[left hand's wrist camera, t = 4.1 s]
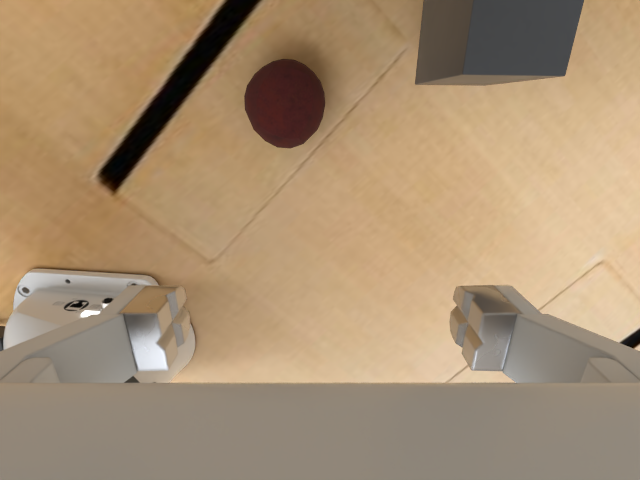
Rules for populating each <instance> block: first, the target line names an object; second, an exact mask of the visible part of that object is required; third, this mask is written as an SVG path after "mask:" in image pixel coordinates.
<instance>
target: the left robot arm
mask: <svg viewBox="0 0 640 480" xmlns="http://www.w3.org/2000/svg"><path fill="white" fill-rule="evenodd" d="M134 283H135V284H137V285H134ZM27 288H28V289H29V290H28V289H27ZM186 300H187V297H186V292H185V289H184V288H183V287H182V286H161V285H158V283H157V282H156V280H155V279H154V278H152V277H150V276H148V275H136V274H120V273H104V272H87V271H71V270H55V269H32V270H30V271H29V272H28V273H26V274H25V275H24V277H23V278H22V279H21V280H20V282H19V284H18V286H17V289H16V292H15V296H14V304H13V312H12V314H11V315H10V317H9V319H8V321H7V323H6V326H0V480H640V351H638V350H635V349H633V348H630V347H628V346H625V345H623V344H620V343H618V342H615V341H613V340H610V339H608V338H606V337H603V336H601V335H598V334H596V333H593V332H591V331H588V330H586V329H583V328H581V327H578V326H576V325H573V324H571V323H568V322H566V321H564V320H561V319H559V318H556V317H554V316H551V315H549V314H542V313H540V312H539V311H538V310H537V309H536V308H535V307H534V306H533V305H532V304H531V303H530V302H528V301H527V300H526V299H525V298H524V297H523V296H522V295H521V294H520V293H519V292H518V291H517V290H515V289H514V288H513V287H512V286H510V285H482V286H458V287H456V289H455V291H454V296H453V300H454V302H455V303H456V305H457V306H456V307H455V308H454V309H453V310H452V311H451V315H450V331H451V334H452V337H453V339H454V341H455V343H456V344H458V345H459V346H461V347H463V349H462V355H463V357H464V358H465V360H466V362H467V364H468V365H469V367H470V369H471V370H478V371H503V373H504V374H505V375H507V376H508V377H509V378H511V379H512V380H513V381H515V382H516V383H170V382H171V381H172V379H173V378H174V377H175V376H176V375H177V374H178V373H179V372H180V371H181V370H182V369H183V368H184V367H185V366H186V365H187V364H188V363H189V362H190V360H191V358H192V356H193V354H194V351H195V334H194V331H193V328H192V326H191V324H190V314H189V311H188V310H187V309H186V308H185V307H184V306H183V305H184V303H185V302H186Z"/></svg>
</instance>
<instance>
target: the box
mask: <svg viewBox="0 0 640 480" xmlns="http://www.w3.org/2000/svg"><path fill="white" fill-rule="evenodd" d="M583 2H584V0H424V2H423V11H422V21H421V31H420V40H419V50H418V60H417V70H416V79H415V84H416V85H493V84H502V83H510V82H519V81H527V80H536V79H544V78H553V77H561V76H565V74H566V70H567V66H568V62H569V58H570V54H571V50H572V46H573V42H574V38H575V34H576V30H577V26H578V22H579V18H580V14H581V10H582V6H583Z"/></svg>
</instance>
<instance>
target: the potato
mask: <svg viewBox="0 0 640 480" xmlns="http://www.w3.org/2000/svg"><path fill="white" fill-rule="evenodd" d="M324 107H325V97H324V91H323V88H322V85H321V82H320V80H319V79H318V78H317V76H316V75H315V73H314V72H313V71H312V70H310V69H309V68H308V67H307V66H306V65H304V64H302V63H300V62H298V61H295V60H289V59H281V60H277V61H273V62H271V63H269V64H267V65H266V66H264V67H262V68H261V69H260V70H259V71H258V72H257V73H256V74H255V75H254V76H253V78H252V79H251V81H250V82H249V84H248V85H247V88H246V92H245V110H246V113H247V115H248V117H249V120H250V122H251V124H252V126H253V129H254V130H255V131H256V132H257V133H258V134H259V135H260V136H261V137H262V138H263V139H264V140H265V141H267V142H269V143H270V144H272V145H274V146H276V147H281V148H293V147H296V146H298V145H301V144H304V143H305V142H306V141H307V140H308V139H309V138H310V137H311V136H312V135H313V134H314V132H315V131H316V130H317V129H318V127H319V125H320V122H321V120H322V117H323V112H324Z"/></svg>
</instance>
